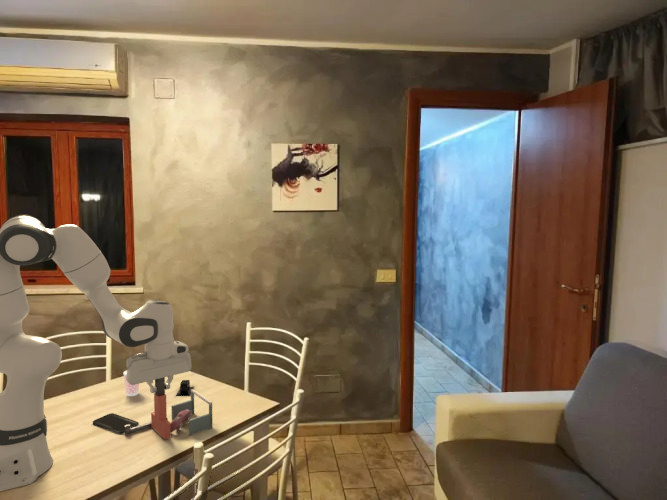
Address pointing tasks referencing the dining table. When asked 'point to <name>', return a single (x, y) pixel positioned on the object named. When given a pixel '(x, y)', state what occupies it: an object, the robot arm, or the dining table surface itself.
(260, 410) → the dining table surface
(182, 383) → the black piece
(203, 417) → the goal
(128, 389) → the beverage cup
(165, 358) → the robot arm
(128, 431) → the rail
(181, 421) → the video game controller
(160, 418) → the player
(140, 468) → the dining table surface
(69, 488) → the dining table surface
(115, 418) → the phone
